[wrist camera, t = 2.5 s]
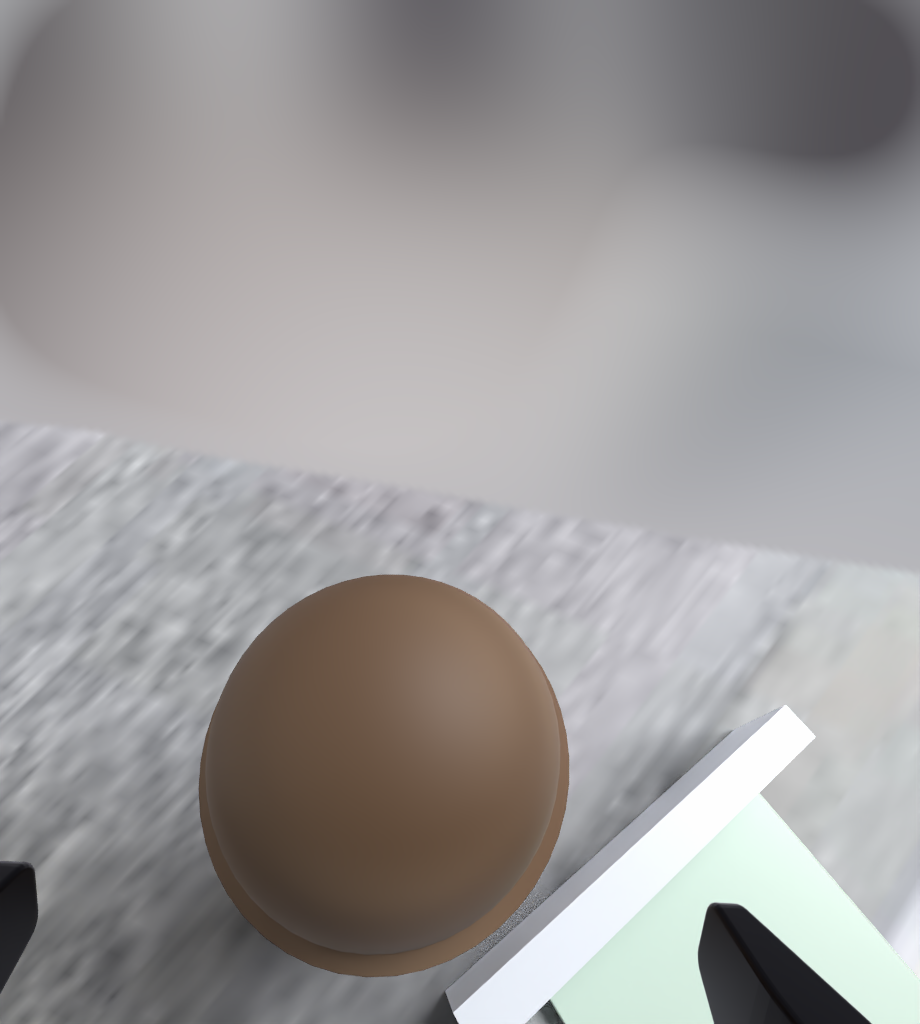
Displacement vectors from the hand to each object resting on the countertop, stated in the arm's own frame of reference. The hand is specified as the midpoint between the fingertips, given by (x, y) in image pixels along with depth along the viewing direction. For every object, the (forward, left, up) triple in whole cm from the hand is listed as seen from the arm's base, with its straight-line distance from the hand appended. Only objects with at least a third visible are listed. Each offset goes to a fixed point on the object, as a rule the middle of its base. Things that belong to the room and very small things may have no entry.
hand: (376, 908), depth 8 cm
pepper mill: (+1, +1, -9) cm, 9 cm away
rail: (+6, -3, -9) cm, 11 cm away
